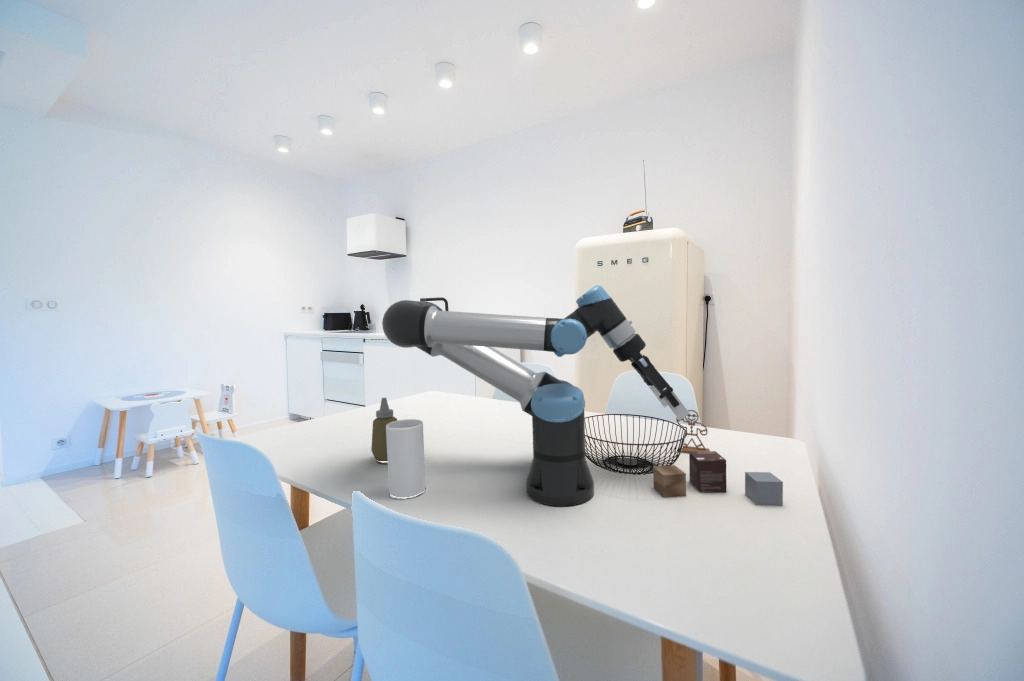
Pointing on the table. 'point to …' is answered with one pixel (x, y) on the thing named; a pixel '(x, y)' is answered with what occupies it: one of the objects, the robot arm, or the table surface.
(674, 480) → the walnut block
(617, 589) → the table surface
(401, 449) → the cup
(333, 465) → the table surface
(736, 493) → the table surface
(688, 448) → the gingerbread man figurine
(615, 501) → the table surface
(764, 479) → the grey block
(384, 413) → the squeeze bottle
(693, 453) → the box
